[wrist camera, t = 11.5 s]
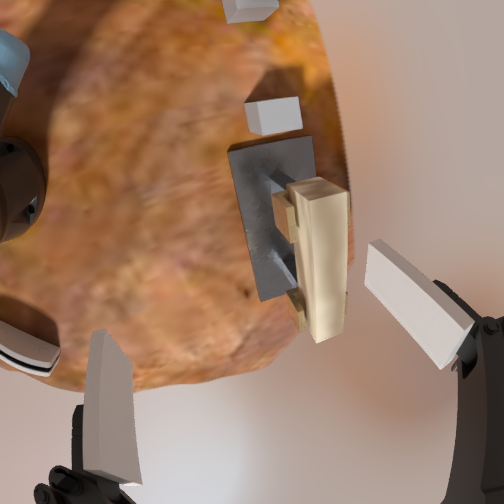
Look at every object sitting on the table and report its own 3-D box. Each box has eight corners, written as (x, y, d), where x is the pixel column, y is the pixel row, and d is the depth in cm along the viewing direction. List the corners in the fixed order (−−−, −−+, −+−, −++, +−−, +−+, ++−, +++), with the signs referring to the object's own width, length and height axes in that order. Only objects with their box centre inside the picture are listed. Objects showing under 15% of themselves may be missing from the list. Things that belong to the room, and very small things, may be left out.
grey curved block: (-2, 333, 36) (-18, 355, 27) (-1, 314, 36) (-19, 335, 27) (59, 361, 44) (52, 388, 35) (62, 344, 44) (53, 370, 35)
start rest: (249, 131, 34) (262, 135, 29) (222, 0, 23) (231, -17, 18) (284, 125, 34) (302, 128, 29) (258, -2, 24) (273, -18, 19)
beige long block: (300, 316, 39) (316, 343, 34) (286, 184, 28) (309, 201, 23) (325, 307, 39) (342, 332, 35) (319, 176, 28) (346, 191, 24)
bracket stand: (259, 298, 48) (285, 355, 37) (226, 151, 34) (254, 173, 23) (320, 277, 50) (357, 326, 38) (308, 134, 36) (366, 151, 24)
